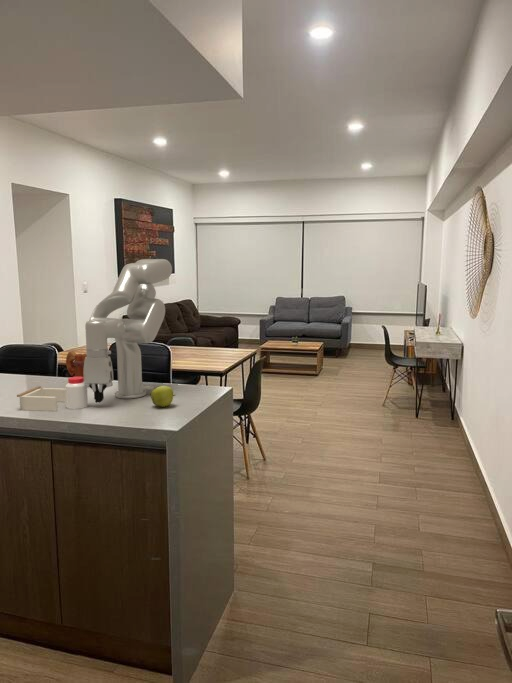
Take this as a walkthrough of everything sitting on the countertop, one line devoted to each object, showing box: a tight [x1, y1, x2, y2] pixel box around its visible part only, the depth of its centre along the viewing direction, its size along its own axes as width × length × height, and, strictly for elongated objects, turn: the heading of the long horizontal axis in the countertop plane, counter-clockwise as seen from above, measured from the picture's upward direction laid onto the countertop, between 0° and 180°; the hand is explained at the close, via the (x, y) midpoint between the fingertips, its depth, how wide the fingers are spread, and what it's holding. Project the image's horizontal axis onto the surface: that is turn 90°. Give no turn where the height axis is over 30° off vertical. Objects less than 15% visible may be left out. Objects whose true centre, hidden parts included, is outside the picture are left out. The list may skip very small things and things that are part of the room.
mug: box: [65, 350, 87, 378], centre depth 227 cm, size 15×8×15 cm, turn 58°
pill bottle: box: [64, 376, 89, 410], centre depth 191 cm, size 8×8×11 cm
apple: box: [150, 385, 176, 408], centre depth 191 cm, size 8×9×8 cm
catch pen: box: [16, 385, 66, 412], centre depth 193 cm, size 14×14×6 cm
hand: (99, 401), depth 191 cm, fingers closed
